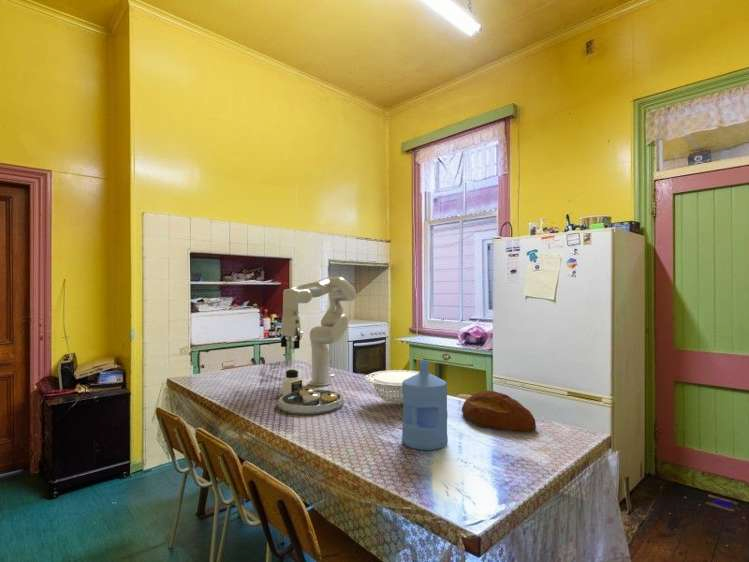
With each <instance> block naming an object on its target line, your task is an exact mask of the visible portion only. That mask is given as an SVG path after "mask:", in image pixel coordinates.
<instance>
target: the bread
mask: <svg viewBox="0 0 749 562" xmlns="http://www.w3.org/2000/svg"><path fill="white" fill-rule="evenodd" d="M461 413H462V415H463V416H464V417H465V418H466V419H468V420H469V421H470V422H471V423H473V424H475V425H478V426H480V427H483V428H487V429H491V430H492V429H493V430H497V431H508V432H509V431H510V432H518V433H519V432H520V433H524V432H525V433H527V432H530V433H531V432H533V431H536V429H537V425H536V420H535V417H534V415H533V414H532V412H531V411H530V409H528V408H526V407H525V406H524V405H523V404H522V403H520V402H519V400H516V399H515V398H512V397H511V396H509V395H508V394H505V393H502V392H498V391H496V390H486V391H479V392H476V393H474V394H471V395H470V396H469V397H468V398H467V399H466V400H465V401H464V402H463V404H462V407H461Z"/></svg>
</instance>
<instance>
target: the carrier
mask: <svg viewBox="0 0 749 562" xmlns="http://www.w3.org/2000/svg"><path fill="white" fill-rule="evenodd" d="M343 407H344V396H343V394H342V393H340V392H338V391H334V390H330V389H315V388H312V387H304V388H303V387H302V389H300V391H295V392H291V393H288V394H285V395H283V394H282V396H280V397H279V400H278V409H279V410H280V411H281V412H283V413H285V414H288V415H295V416H317V415H324V414H325V415H326V414H330V413H333V412H336V411H339V410H340V409H342V408H343Z"/></svg>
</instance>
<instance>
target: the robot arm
mask: <svg viewBox="0 0 749 562" xmlns="http://www.w3.org/2000/svg"><path fill="white" fill-rule="evenodd" d="M326 294H328V298H329V306H328V308H327V310H326V311H325V313H324V315H323V316H322V319H321V320H320V326H318V325H316V326H314V327H312V328H311V329H310V331H309V341H310V346H311V380H309V382H308V385H309V386H314V387H325V386H329V385H332V383H333V381H332V380H331V379H334V378H335V373H333V374H330V351H329V350H330V349H329V347H328V346H327V345H329V346H330V345H331V346H332V345H333V346H334V345H337V344H338V343H339V342H340V340H341V339H342V338H343V335H344V334H345V332H346V330H347V329H348V327H349V317H348V316H347V315H346V314H345V313H344V308H343V306H342V303H341V302H352V301H354V300H356V297H357V291H356V289H355V288H354V286H353V285H351V283H350V282H349V281H347V280H346V279H345V278H343V277H341V276H329V277H328V276H327V277H325V278H322V279H319V280H317V281H314V282H313V281H312V282H308V283H305V284H300V285H297V286H293V287H290V288H286V289H284V290H283V293H282V295H283V296H282V297H283V298H282V299H283V300H282V318H281V325H280V327H281V328H279V329H278V335H279V339H280V347H281V348H286V347H287V346H288V344H287V343H288V342H287V340H288V339H287V338H288V337H292V338H293V339H294V340H293V349H294V350H296V349H297V350H298V349H300V346H301V345H300V341H301V340H302V337H303V333H304V332H303V330H301V320H300V316H299V304H308V303H310V302H311V301H312V299H313V298H319V297H323V296H324V295H326Z"/></svg>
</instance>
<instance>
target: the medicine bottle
mask: <svg viewBox="0 0 749 562" xmlns="http://www.w3.org/2000/svg"><path fill="white" fill-rule="evenodd" d="M281 382H282V383H281V384H282V385H281V386H282V387H281V388H282V389H281V395H282V396H283V395H285V394H288V393H291V392H295V391H300V389H303V379H300V378H299V370H298V369H293V368H292V369H288V370H286V371H285V379H282V381H281Z"/></svg>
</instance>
